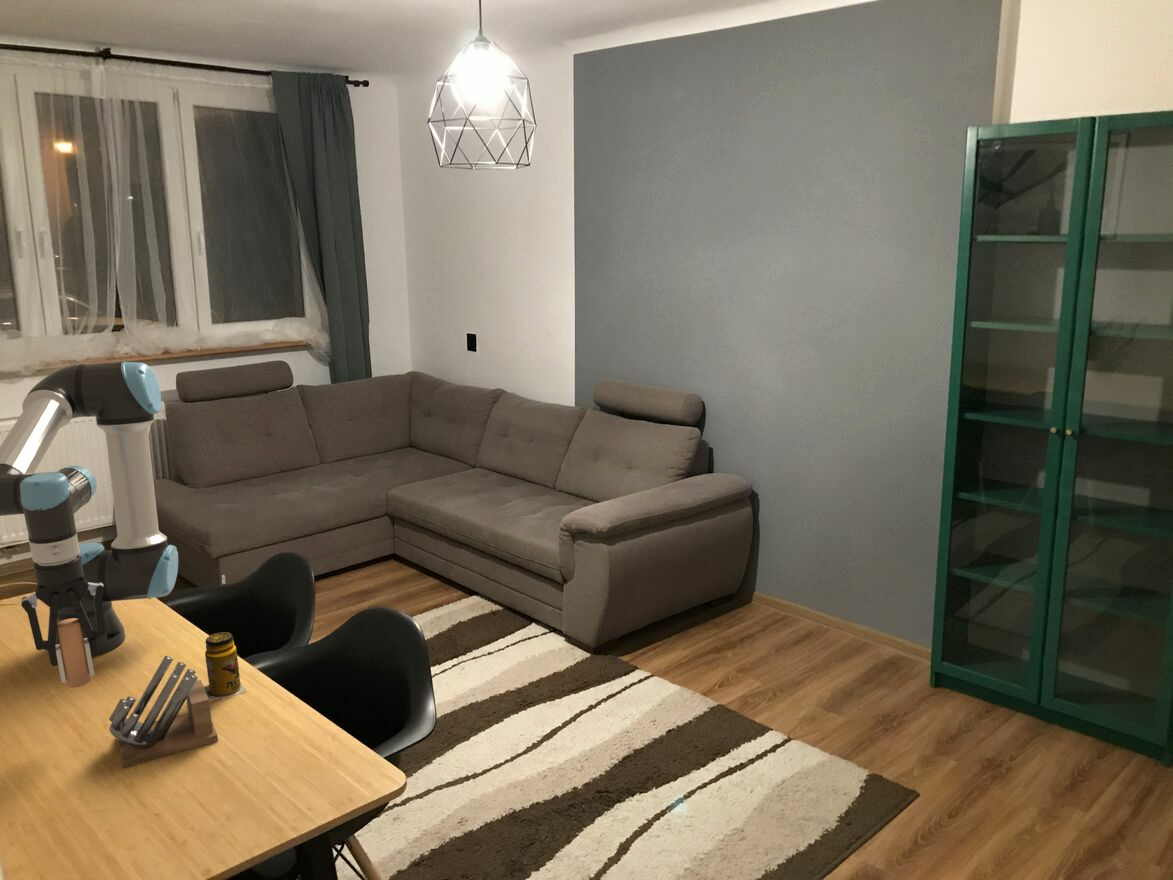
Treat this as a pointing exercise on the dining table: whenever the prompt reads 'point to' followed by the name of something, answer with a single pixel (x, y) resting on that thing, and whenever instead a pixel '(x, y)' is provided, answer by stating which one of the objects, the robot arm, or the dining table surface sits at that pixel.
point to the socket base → (178, 731)
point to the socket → (142, 732)
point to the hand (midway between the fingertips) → (77, 675)
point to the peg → (73, 652)
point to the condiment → (222, 667)
